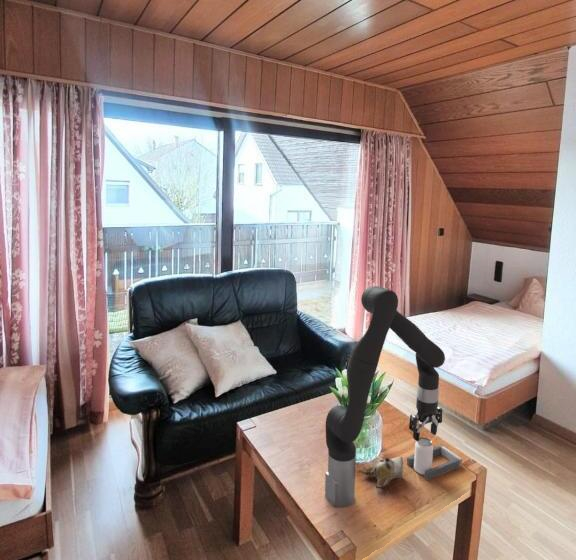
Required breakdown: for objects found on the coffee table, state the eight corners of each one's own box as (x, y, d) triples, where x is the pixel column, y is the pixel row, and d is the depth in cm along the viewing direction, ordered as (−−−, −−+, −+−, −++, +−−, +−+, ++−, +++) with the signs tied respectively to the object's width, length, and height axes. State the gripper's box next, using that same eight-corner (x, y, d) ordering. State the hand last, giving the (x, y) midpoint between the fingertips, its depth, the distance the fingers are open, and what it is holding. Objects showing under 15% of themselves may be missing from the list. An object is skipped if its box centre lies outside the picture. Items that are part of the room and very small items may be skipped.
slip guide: (426, 480, 158) (427, 473, 157) (406, 464, 167) (407, 457, 166) (461, 465, 166) (462, 458, 165) (440, 451, 175) (441, 444, 174)
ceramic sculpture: (411, 461, 155) (376, 474, 149) (411, 481, 157) (377, 495, 151) (393, 445, 164) (359, 457, 159) (393, 465, 166) (360, 477, 161)
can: (411, 472, 162) (413, 443, 160) (415, 462, 168) (417, 434, 165) (429, 477, 160) (431, 448, 157) (432, 467, 165) (435, 439, 163)
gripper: (420, 406, 151) (418, 447, 154) (449, 396, 157) (446, 436, 161) (405, 397, 157) (403, 437, 161) (433, 388, 164) (431, 426, 167)
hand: (424, 436), depth 161 cm, fingers open, 8 cm apart
